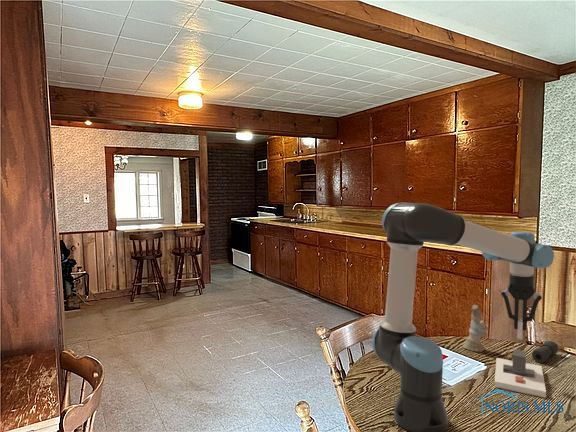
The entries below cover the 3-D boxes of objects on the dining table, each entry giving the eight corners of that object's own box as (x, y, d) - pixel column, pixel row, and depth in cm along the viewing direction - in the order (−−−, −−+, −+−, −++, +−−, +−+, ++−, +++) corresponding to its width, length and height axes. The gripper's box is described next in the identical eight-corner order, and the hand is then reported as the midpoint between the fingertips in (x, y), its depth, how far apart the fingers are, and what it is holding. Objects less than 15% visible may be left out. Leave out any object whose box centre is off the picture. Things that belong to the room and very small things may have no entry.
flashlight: (545, 365, 152) (546, 352, 151) (530, 361, 156) (530, 348, 155) (558, 355, 161) (559, 342, 161) (543, 351, 165) (544, 338, 165)
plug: (525, 380, 139) (525, 357, 138) (512, 377, 141) (512, 355, 140) (524, 372, 145) (525, 349, 145) (512, 369, 147) (513, 347, 147)
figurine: (472, 353, 163) (473, 306, 162) (459, 346, 171) (460, 301, 170) (490, 351, 165) (491, 305, 163) (477, 344, 173) (478, 299, 172)
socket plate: (545, 397, 128) (546, 389, 127) (494, 386, 135) (494, 379, 135) (541, 371, 147) (541, 363, 146) (496, 362, 154) (496, 355, 154)
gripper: (542, 274, 140) (540, 337, 142) (501, 270, 147) (499, 331, 148) (543, 278, 134) (541, 345, 135) (500, 274, 140) (499, 338, 142)
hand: (519, 338), depth 142 cm, fingers closed
